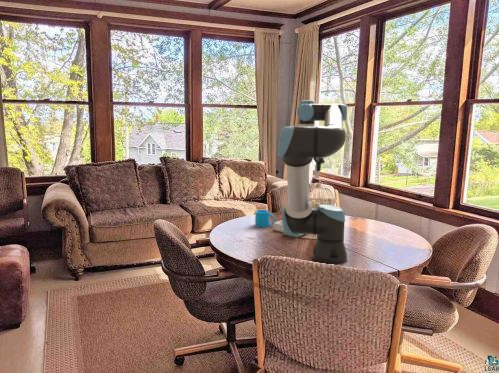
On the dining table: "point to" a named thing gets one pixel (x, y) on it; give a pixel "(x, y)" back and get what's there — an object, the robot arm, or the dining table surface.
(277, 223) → the mount
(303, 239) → the dining table surface
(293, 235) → the socket
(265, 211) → the mug
